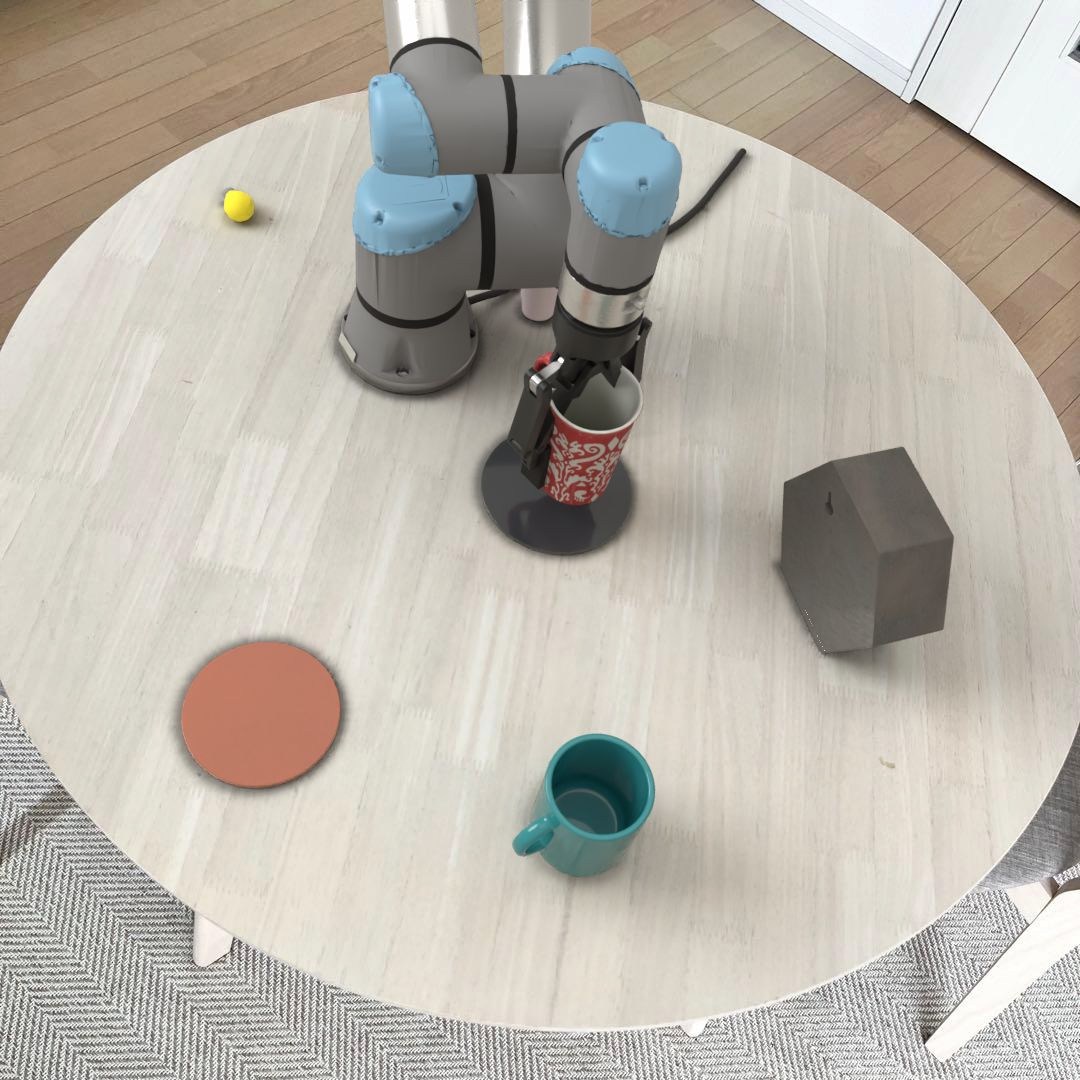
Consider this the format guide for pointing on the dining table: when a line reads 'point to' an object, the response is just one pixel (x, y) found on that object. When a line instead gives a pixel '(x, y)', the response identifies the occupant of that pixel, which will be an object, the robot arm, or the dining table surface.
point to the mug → (590, 436)
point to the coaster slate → (550, 508)
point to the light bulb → (238, 205)
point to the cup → (589, 805)
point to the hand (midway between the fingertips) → (564, 457)
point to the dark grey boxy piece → (865, 551)
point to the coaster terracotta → (260, 714)
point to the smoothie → (538, 302)
